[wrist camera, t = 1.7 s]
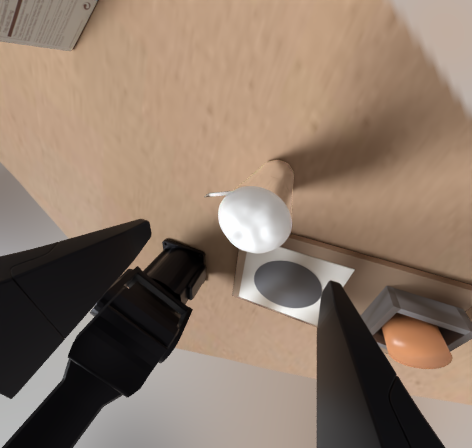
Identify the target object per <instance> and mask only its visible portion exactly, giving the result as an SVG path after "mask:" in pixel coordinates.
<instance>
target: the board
mask: <svg viewBox="0 0 472 448" xmlns="http://www.w3.org/2000/svg"><path fill="white" fill-rule="evenodd" d="M330 280H332V281H335V282H338V283H340V284H341V285H342V287H343V288H344V290H345V292H346V293H347V295H348V296H349V298H350V300H351V301H352V303H353V304H354V306H355V308H356V309H357V311H358V313H359V314H360V316H361V317H362V319H363V321H364V322H365V324H366V325H367V327H368V329H369V330H370V332H371V334H372V335H373V337H374V338H375V340H376V342H377V343H378V345H379V346H380V348H381V350H382V351H383V352H384V353H386V354H388V350H387V346H386V342H385V338H384V334H383V331H382V326H383V325H384V324H385V323H386V322H387V321H388V320H390V319H391V318H392V317H393V316H394V315H395V314H396V313H400V314H403V315H406V316H409V317H412V318H415V319H419V320H422V321H425V322H428V323H431V324H434V325H437V326H438V328H439V330H440V332H441V334H442V337H443V339H444V341H445V343H446V345H447V347H448V349H449V351H452V350H454V349H455V348H457V347H459V346H461V345H462V344H464V343H466V342H467V341H469V340H471V339H472V322H471V320H470V319H469V317H468V316H467V314H466V313H465V312H466V311H467V310H468V309H470V308H471V307H472V285H470V284H466V283H463V282H459V281H456V280H452V279H449V278H445V277H442V276H438V275H434V274H431V273H427V272H424V271H420V270H417V269H413V268H410V267H406V266H403V265H399V264H396V263H392V262H389V261H385V260H382V259H378V258H375V257H371V256H368V255H364V254H361V253H357V252H354V251H350V250H347V249H343V248H340V247H336V246H333V245H329V244H326V243H322V242H318V241H315V240H311V239H308V238H304V237H301V236H297V235H294V234H290V235H289V237H288V238H287V240H286V241H285V242H284V243H283V244H282V245H281V246H280V247H278V248H276V249H274V250H272V251H268V252H265V253H251V252H247V251H243V250H241V249H239V253H238V259H237V266H236V273H235V279H234V286H233V293H232V296H234V297H237V298H240V299H242V300H245V301H248V302H250V303H253V304H256V305H258V306H261V307H264V308H266V309H269V310H272V311H274V312H277V313H280V314H282V315H285V316H288V317H290V318H293V319H296V320H298V321H301V322H304V323H306V324H309V325H312V326H314V327H317V325H318V317H319V309H320V301H321V294H322V292H323V290H324V288H325V286H326V285H327V283H328V282H329V281H330Z"/></svg>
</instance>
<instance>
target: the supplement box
mask: <svg viewBox="0 0 472 448" xmlns="http://www.w3.org/2000/svg"><path fill="white" fill-rule="evenodd" d="M97 1H98V0H0V41H1V42H8V43H15V44H22V45H29V46H36V47H43V48H50V49H57V50H65V51H71V50H72V49H73V47H74V45H75V44H76V42H77V40H78V38H79V36H80V34H81V32H82V30H83V29H84V27H85V25H86V23H87V21H88V19H89V17H90V15H91V13H92V11H93V9H94V7H95V5H96V3H97Z"/></svg>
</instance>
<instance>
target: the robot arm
mask: <svg viewBox="0 0 472 448" xmlns="http://www.w3.org/2000/svg"><path fill="white" fill-rule="evenodd" d="M150 237H151V228H150V223H149V221H147V220H144V219H138V220H135V221H131V222H127V223H124V224H120V225H117V226H113V227H110V228H106V229H103V230H99V231H95V232H92V233H88V234H85V235H81V236H78V237H74V238H70V239H67V240H64V241H60V242H56V243H53V244H49V245H45V246H42V247H38V248H34V249H30V250H26V251H22V252H18V253H13V254H9V255H5V256H0V394H2V395H4V396H6V397H8V398H10V399H12V398H13V397H14V396H15V395H16V394H17V393H18V392H19V391H20V390H21V389H22V387H23V386H24V385H25V384H26V383H27V382H28V380H29V379H30V378H31V377H32V376H33V375H34V374H35V373H36V371H37V370H38V369H39V368H40V367H41V366H42V365H43V363H44V362H45V361H46V360H47V359H48V358H49V357H50V355H51V354H52V353H53V352H54V351H55V350H56V349H57V347H58V346H59V345H60V344H61V343H62V342H63V340H65V338H66V337H67V336H68V335H69V334H70V333H71V331H72V330H73V329H74V328H75V327H76V326H77V324H78V323H79V322H80V321H81V320H82V319H83V318H84V316H86V314H87V313H88V312H89V311H90V310H91V309H92V308H93V306H95V307H94V308H93V309H92V310H91V312H90V313H91V314H92V315H93V316H95V317H94V318H93V319H92V320H91V321H90V322H89V323H88V324H87V326H86V327H85V328H84V329H83V330H82V331H81V332H80V333H79V334H78V335H77V337H76V339H75V341H74V342H73V345H72V347H71V349H70V352H69V355H68V358H69V361H68V363H67V367H66V370H65V374H64V376H63V379H62V381H61V382H60V383H59V384H58V385H57V386H56V387H55V389H54V390H53V391H52V392H51V393H50V394H49V395H48V396H47V398H46V399H45V400H44V401H43V402H42V403H41V404H40V405H39V407H38V408H37V409H36V410H35V411H34V412H33V413H32V414H31V416H30V417H29V418H28V419H27V420H26V421H25V422H24V423H23V425H22V426H21V427H20V428H19V429H18V430H17V431H16V432H15V434H14V435H13V436H12V437H11V438H10V439H9V440H8V441H7V442H6V444H5V445H4V446H3V447H2V448H73V447H74V445H75V444H76V443H77V441H78V440H79V439H80V437H81V436H82V434H83V433H84V432H85V431H86V429H87V428H88V426H89V425H90V424H91V422H92V421H93V420H94V418H95V417H96V416H97V414H98V413H99V412H100V410H101V409H102V408H103V407H104V406H105V405H107V404H109V403H110V402H112V401H114V400H115V399H117V398H118V397H121V396H122V395H124V396H126V397H129V396H131V395H132V394H134V393H135V392H136V391H138V390H139V389H140V388H141V387H142V385H143V384H144V382H145V381H146V379H147V377H148V376H149V374H150V373H151V372H152V370H153V369H154V367H155V366H156V365H157V363H158V362H159V363H162V362H163V361H164V360H165V359H166V358H167V357H168V356H169V355H170V354H171V352H172V351H173V349H174V348H175V346H176V345H177V343H178V341H179V339H180V337H181V335H182V333H183V331H184V328H185V326H186V324H187V322H188V319H189V317H190V315H191V312H192V310H193V309H191V308H190V307H188V306H186V305H185V304H186V302H187V301H188V299H189V300H192V299H193V298H194V297H195V295H196V293H197V292H198V290H199V288H200V287H201V285H202V284H203V283H204V281H205V278H206V266H205V254H204V252H202V251H199V250H196V249H193V248H190V247H187V246H184V245H181V244H178V243H175V242H173V241H170V240H166V239H165V240H164V241H163V242H162V243H163V251H162V252H161V253H160V254H159V255H158V256H157V257H156V258H155V259H154V261H153V262H152V263H151V264H150V265H149V266H148V267H147V268H146V269H145V270H144V271H142V270H141V269H140V268H139V267H138V266H137V267H136V268H135V269H133V270H132V269H128V270H127V271H126V272H125V273H124V274H123V275H122V273H123V272H124V271H125V270H126V269H127V268H128V267H129V265H130V264H131V263H132V262H133V261H134V259H135V258H136V257H137V255H138V254H139V253H140V251H141V250H142V248H143V247H144V246H145V244H146V243H147V241H148V240H149V239H150ZM127 287H129V289H128V288H127ZM317 448H445V447H444V445H443V444H442V442H441V441H440V439H439V438H438V437H437V435H436V434H435V432H434V431H433V429H432V428H431V426H430V425H429V423H428V422H427V421H426V419H425V418H424V416H423V415H422V413H421V412H420V410H419V409H418V407H417V405H416V404H415V403H414V401H413V399H412V398H411V396H410V395H409V393H408V391H407V390H406V388H405V387H404V385H403V383H402V382H401V380H400V379H399V377H398V376H396V372H395V371H394V369H393V367H392V366H391V364H390V363H389V361H388V359H387V358H386V356H385V355H384V353H383V351H382V350H381V348H380V346H379V345H378V343H377V342H376V340H375V338H374V337H373V335H372V334H371V332H370V330H369V329H368V327H367V325H366V324H365V322H364V321H363V319H362V317H361V316H360V314H359V313H358V311H357V309H356V308H355V306H354V304H353V303H352V301H351V300H350V298H349V296H348V295H347V293H346V292H345V290H344V288H343V287H342V285H341V284H340V283H338V282H335V281H332V280H330V281H329V282H328V283H327V285H326V286H325V288H324V290H323V292H322V294H321V301H320V309H319V317H318V325H317Z"/></svg>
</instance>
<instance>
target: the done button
mask: <svg viewBox="0 0 472 448" xmlns="http://www.w3.org/2000/svg"><path fill="white" fill-rule="evenodd" d="M382 331H383V334H384V338H385V342H386V346H387V350H388V354H389V355H390V357H392V358H393V359H394V360H395V361H397V362H399V363H401V364H404V365H406V366H410V367H414V368H421V369H436V368H441V367H444V366H446V365H448V364H450V363H451V361H452V355H451V353H450V351H449V349H448V347H447V345H446V343H445V341H444V339H443V337H442V334H441V332H440V330H439V328H438V326H437V325H434V324H431V323H428V322H425V321H422V320H419V319H415V318H412V317H409V316H406V315H403V314H400V313H396V314H395V315H394V316H393V317H392V318H391V319H390V320H388V321H387V322H386V323H385V324H384V325H383V326H382Z"/></svg>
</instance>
